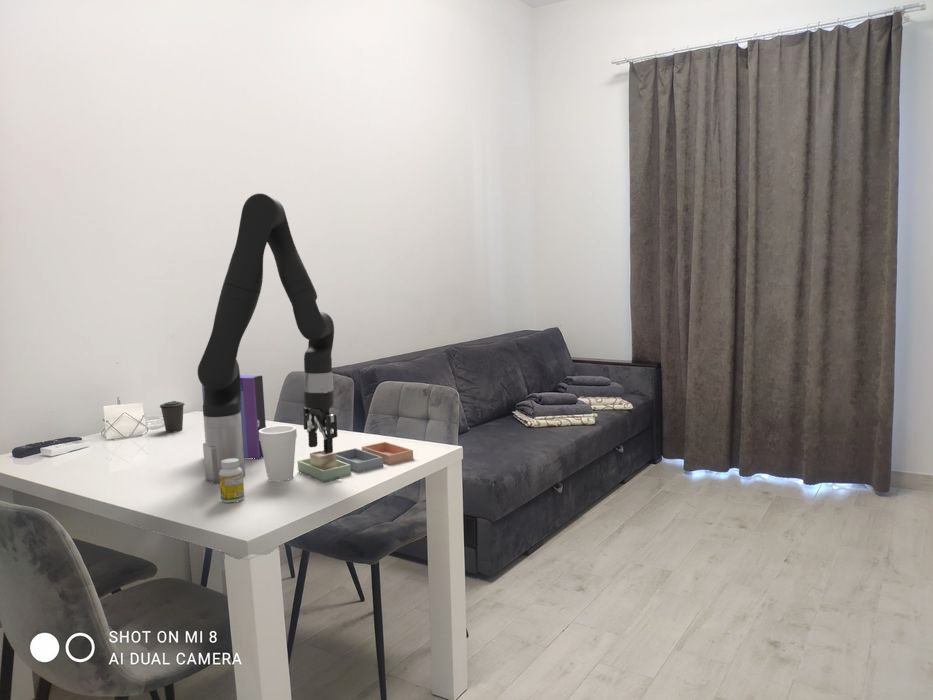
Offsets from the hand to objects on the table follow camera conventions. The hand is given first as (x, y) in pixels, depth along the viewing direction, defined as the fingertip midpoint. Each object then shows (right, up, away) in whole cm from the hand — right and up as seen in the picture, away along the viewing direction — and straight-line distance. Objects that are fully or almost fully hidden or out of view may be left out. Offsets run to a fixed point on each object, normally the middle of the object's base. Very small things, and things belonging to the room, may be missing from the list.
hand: (320, 449), depth 185 cm
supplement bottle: (-17, -10, -18) cm, 26 cm away
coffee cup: (-64, -2, +60) cm, 88 cm away
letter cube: (+1, -6, +1) cm, 6 cm away
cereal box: (-29, -5, +23) cm, 38 cm away
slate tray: (+8, -6, +8) cm, 13 cm away
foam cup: (-10, -7, -1) cm, 13 cm away
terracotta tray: (+16, -5, +14) cm, 22 cm away
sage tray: (+1, -7, +1) cm, 7 cm away
